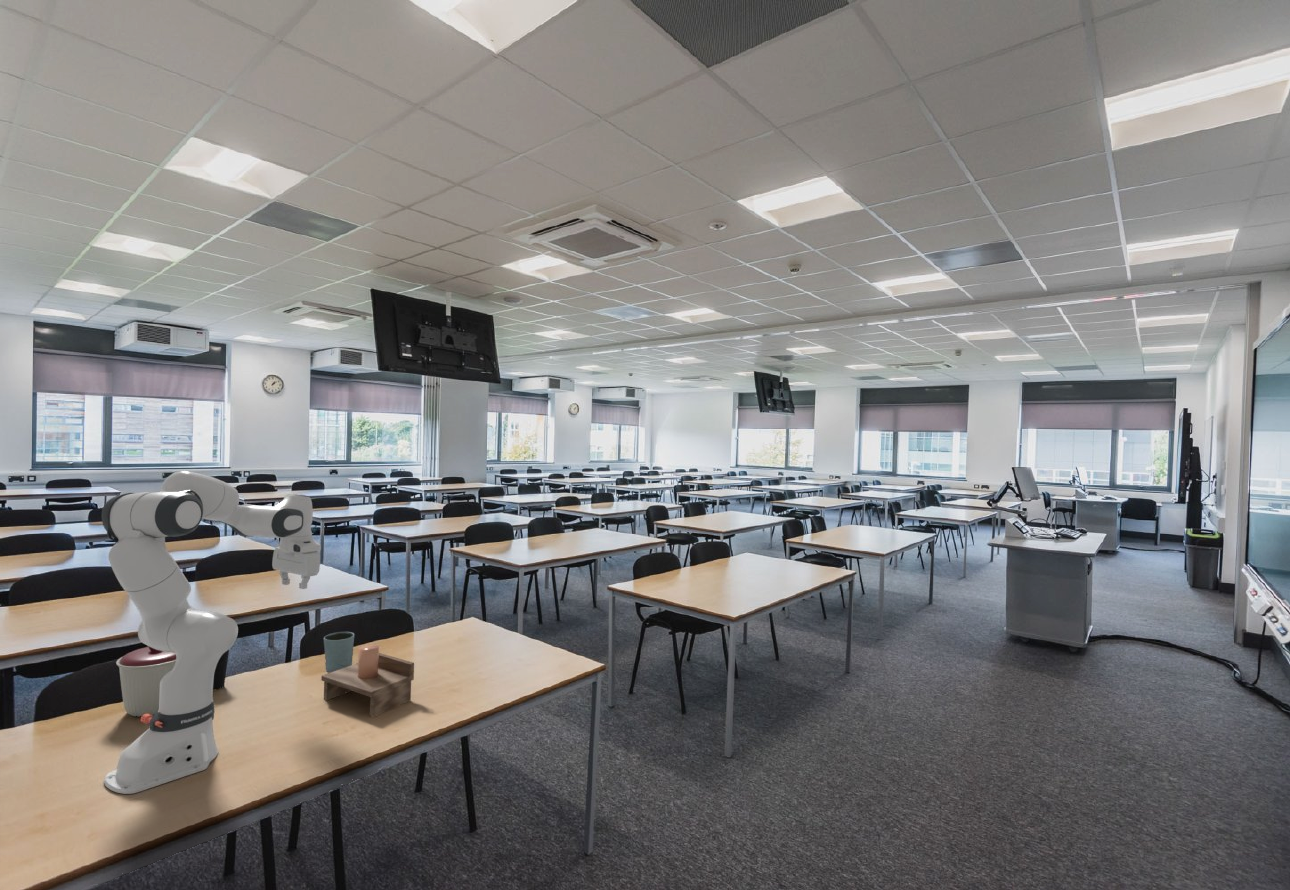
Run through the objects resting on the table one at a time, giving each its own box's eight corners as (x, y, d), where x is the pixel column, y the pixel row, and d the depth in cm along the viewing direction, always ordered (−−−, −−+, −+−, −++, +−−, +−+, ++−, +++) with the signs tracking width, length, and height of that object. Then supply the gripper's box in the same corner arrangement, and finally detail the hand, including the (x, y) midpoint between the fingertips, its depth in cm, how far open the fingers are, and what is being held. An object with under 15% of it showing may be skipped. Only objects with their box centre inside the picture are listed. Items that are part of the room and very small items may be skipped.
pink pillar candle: (365, 680, 189) (366, 652, 189) (353, 676, 191) (354, 648, 191) (382, 674, 194) (382, 646, 194) (370, 670, 197) (370, 643, 197)
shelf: (370, 718, 180) (371, 679, 180) (320, 700, 191) (321, 663, 191) (413, 699, 194) (414, 662, 194) (364, 683, 205) (365, 648, 205)
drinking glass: (352, 671, 215) (353, 638, 215) (320, 674, 212) (321, 641, 212) (354, 661, 225) (355, 630, 225) (324, 664, 221) (325, 632, 221)
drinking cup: (214, 693, 194) (216, 632, 194) (195, 690, 195) (197, 630, 195) (234, 684, 201) (236, 625, 201) (216, 681, 203) (218, 623, 203)
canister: (112, 708, 181) (114, 639, 181) (186, 692, 194) (188, 627, 194) (116, 729, 169) (119, 655, 169) (195, 710, 181) (198, 642, 181)
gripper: (267, 541, 194) (265, 583, 194) (305, 548, 185) (303, 592, 184) (286, 539, 200) (285, 580, 200) (324, 545, 190) (322, 589, 190)
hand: (294, 586), depth 192 cm, fingers open, 8 cm apart
